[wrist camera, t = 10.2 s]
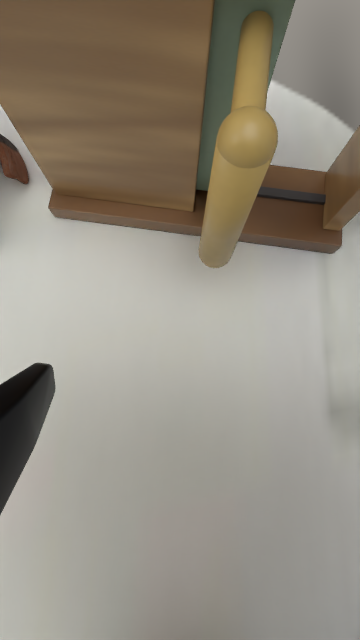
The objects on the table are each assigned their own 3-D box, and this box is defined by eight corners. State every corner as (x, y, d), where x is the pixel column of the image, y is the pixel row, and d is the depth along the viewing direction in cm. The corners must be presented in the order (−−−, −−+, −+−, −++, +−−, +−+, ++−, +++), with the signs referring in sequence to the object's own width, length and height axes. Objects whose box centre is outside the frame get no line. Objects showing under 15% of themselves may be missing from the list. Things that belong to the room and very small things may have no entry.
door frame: (333, 253, 22) (681, -46, 7) (54, 217, 22) (-205, -147, 7) (336, 184, 23) (644, -209, 8) (70, 150, 23) (-127, -289, 8)
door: (225, 282, 20) (299, 127, 8) (77, 263, 20) (-66, 81, 8) (237, 175, 21) (314, -89, 9) (100, 157, 21) (6, -125, 10)
